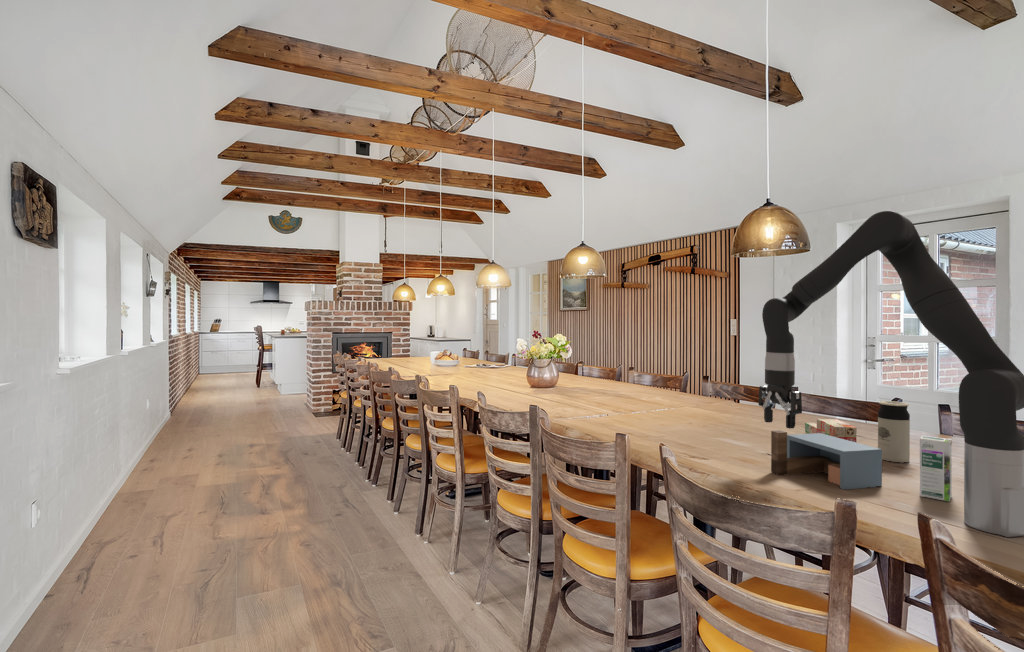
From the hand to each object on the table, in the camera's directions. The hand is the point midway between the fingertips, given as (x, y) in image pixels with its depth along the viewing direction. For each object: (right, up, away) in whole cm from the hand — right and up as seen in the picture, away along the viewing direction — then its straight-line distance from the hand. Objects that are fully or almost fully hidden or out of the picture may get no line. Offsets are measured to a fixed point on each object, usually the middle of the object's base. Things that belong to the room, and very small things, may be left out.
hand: (779, 425), depth 143 cm
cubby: (+13, -14, -3) cm, 19 cm away
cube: (+13, -14, -8) cm, 21 cm away
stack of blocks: (+25, -14, +17) cm, 34 cm away
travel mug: (+44, -14, +15) cm, 48 cm away
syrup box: (+29, -14, -19) cm, 37 cm away
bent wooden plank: (+7, -14, -1) cm, 16 cm away
